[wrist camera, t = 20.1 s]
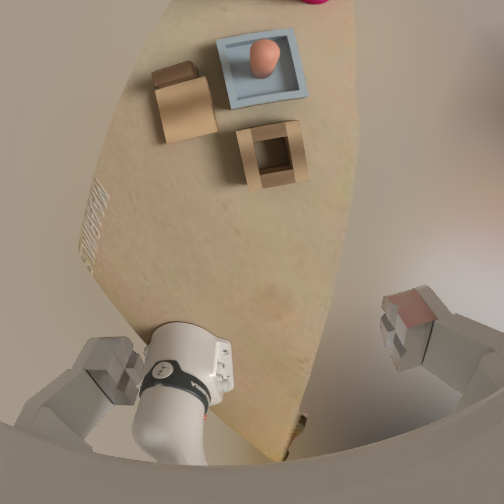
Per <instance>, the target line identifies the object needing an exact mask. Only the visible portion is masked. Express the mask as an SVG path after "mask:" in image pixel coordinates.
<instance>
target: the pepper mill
mask: <svg viewBox="0 0 504 504" xmlns="http://www.w3.org/2000/svg"><path fill="white" fill-rule="evenodd" d="M301 1H303V2H306V3H310V4H322V3H325V2H327V1H328V0H301Z"/></svg>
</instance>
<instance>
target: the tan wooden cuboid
mask: <svg viewBox="0 0 504 504" xmlns="http://www.w3.org/2000/svg"><path fill="white" fill-rule="evenodd" d="M155 93H156V98H157V103H158V107H159V112H160V117H161V121H162V126H163V130H164V134H165V138H166V143H167V144H171V143H174V142H178V141H182V140H186V139H190V138H194V137H198V136H202V135H206V134H210V133H215V132H219V131H218V126H217V122H216V117H215V112H214V108H213V103H212V98H211V93H210V89H209V84H208V79H207V78H206V77H205V76H204V77H200V78H196V79H192V80H189V81H185V82H181V83H178V84H174V85H171V86H168V87H164V88H161V89H158V90H155Z"/></svg>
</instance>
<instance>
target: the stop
mask: <svg viewBox="0 0 504 504" xmlns="http://www.w3.org/2000/svg"><path fill="white" fill-rule="evenodd" d="M152 77H153V82H154V86H155V87H158V88H164V87H168V86H171V85H174V84H178V83H181V82H185V81H189V80H192V79H196V78H199V74H198V70H197V67H196V66H195V65H194V64H193V63H192V62H191V61H186V62H183V63H179V64H176V65H173V66H170V67H166V68H163V69H160V70H157V71H155V72H152Z"/></svg>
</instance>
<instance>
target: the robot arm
mask: <svg viewBox="0 0 504 504" xmlns="http://www.w3.org/2000/svg"><path fill="white" fill-rule="evenodd" d="M382 309H383V311H384V312H385V313H384V315H383V316H382V317H381V320H380V330H381V336H382V339H383V342H384V344H385V346H386V347H387V348H389V349H391V350H392V351H391V356H390V357H391V359H392V361H393V363H394V365H395V367H396V370H397V371H398V372H400V371H404V370H407V369H410V368H413V367H417V366H420V365H422V367H424V368H425V369H427V370H428V371H430V372H431V373H432V374H434V375H435V376H437V377H438V378H440V379H441V380H443V381H444V382H446V383H447V384H448V385H450V386H451V387H453V388H454V389H455V390H457V391H458V392H460V393H461V394H463V395H462V396H461V398H460V400H459V402H458V403H457V405H456V407H455V409H454V411H455V413H453V414H451V415H449V416H447V417H445V418H442V419H440V420H438V421H436V422H433V423H431V424H428V425H426V426H423V427H421V428H418V429H415V430H413V431H410V432H407V433H404V434H402V435H399V436H396V437H393V438H390V439H386V440H383V441H380V442H376V443H373V444H369V445H366V446H362V447H359V448H355V449H350V450H346V451H342V452H337V453H332V454H328V455H322V456H317V457H311V458H305V459H298V460H291V461H283V462H274V463H263V464H249V465H221V466H209V465H208V463H207V461H206V458H205V455H204V451H203V421H204V420H207V419H204V417H206V416H207V415H205V414H206V412H207V409H208V408H209V406H213V405H216V404H218V403H220V402H221V401H222V398H223V393H225V392H228V391H230V390H232V389H233V388H234V375H233V362H232V349H231V343H230V342H229V341H227V340H224V339H221V338H218V337H215V336H213V335H212V334H210V333H209V332H208V331H206V330H204V329H203V328H200V327H198V326H195V325H192V324H188V323H180V322H176V323H168V324H165V325H162V326H161V327H159V328H158V329H156V330H155V332H154V333H153V335H152V338H151V342H150V344H149V345H148V346H146V347H145V349H144V355H145V356H146V359H145V364H143V361H142V359H141V357H140V355H139V354H138V353H136V352H134V351H133V350H132V349H133V344H132V342H131V341H130V339H129V338H128V337H125V336H124V337H102V338H101V337H100V338H91V339H89V340H88V341H87V343H86V344H85V346H84V348H83V350H82V351H81V353H80V355H79V357H78V358H77V360H76V362H75V364H74V365H73V367H72V369H68V370H67V371H65V372H64V373H63V374H61V375H60V376H59V377H57V378H56V379H55V380H54V381H52V382H51V383H50V384H48V385H47V386H46V387H44V388H43V389H42V390H41V391H39V392H38V393H37V394H36V395H34V396H33V397H32V398H30V399H29V400H28V401H27V402H26V403H25V405H24V407H23V409H22V411H21V413H20V415H19V416H18V418H17V421H16V423H15V425H14V426H13V427H12V426H10V425H8V424H6V423H3V422H1V421H0V504H504V333H503V332H500V331H498V330H495V329H493V328H490V327H488V326H486V325H483V324H481V323H479V322H476V321H474V320H471V319H469V318H467V317H464V316H462V315H459V314H453V315H452V313H451V312H450V311H449V310H448V308H447V307H446V306H445V305H444V303H443V302H442V301H441V300H440V299H439V297H438V296H437V295H436V294H435V293H434V292H433V290H431V288H430V287H429V286H427V285H423V286H420V287H416V288H413V289H411V290H407V291H404V292H399V293H395V294H392V295H388V296H384V297H383V300H382ZM142 379H143V382H142V383H141V387H140V393H139V396H140V401H139V405H138V408H137V411H136V414H135V417H134V421H133V425H132V434H133V437H134V439H135V441H136V442H137V444H138V445H139V446H140V447H141V449H142V450H143V451H145V452H146V453H147V454H148V455H150V456H151V457H153V458H154V459H155V460H156V461H157V462H158V463H155V462H147V461H139V460H132V459H126V458H120V457H114V456H108V455H104V454H99V453H95V452H93V449H92V447H91V446H90V445H89V444H88V443H86V442H85V441H84V439H85V438H86V437H87V436H88V435H89V433H90V432H91V431H92V430H93V429H94V428H95V427H96V426H97V425H98V423H99V422H100V421H101V420H102V419H103V418H104V417H105V416H106V414H107V413H108V412H109V411H110V410H111V409H112V408H113V407H114V405H134V404H135V401H136V397H137V394H138V391H139V390H138V387H137V385H138V384H139V383H140V382H141V381H142Z"/></svg>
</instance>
